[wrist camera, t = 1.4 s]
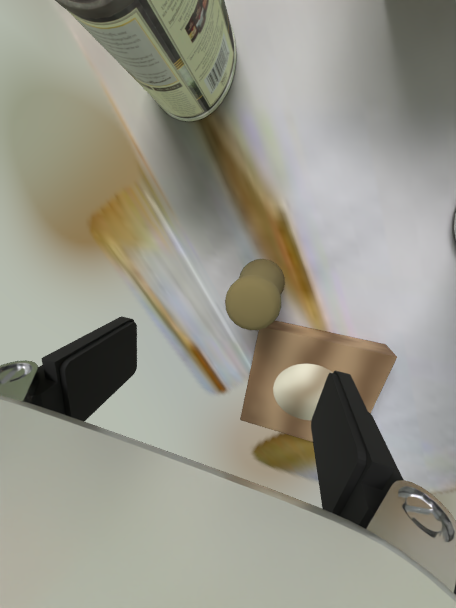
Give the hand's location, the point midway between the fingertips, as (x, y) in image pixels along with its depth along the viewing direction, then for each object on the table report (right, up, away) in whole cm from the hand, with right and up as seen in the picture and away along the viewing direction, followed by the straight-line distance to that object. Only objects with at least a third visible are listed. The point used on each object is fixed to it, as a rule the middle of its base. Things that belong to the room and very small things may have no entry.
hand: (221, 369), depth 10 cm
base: (+12, -8, +22) cm, 26 cm away
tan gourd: (+5, +6, +19) cm, 20 cm away
